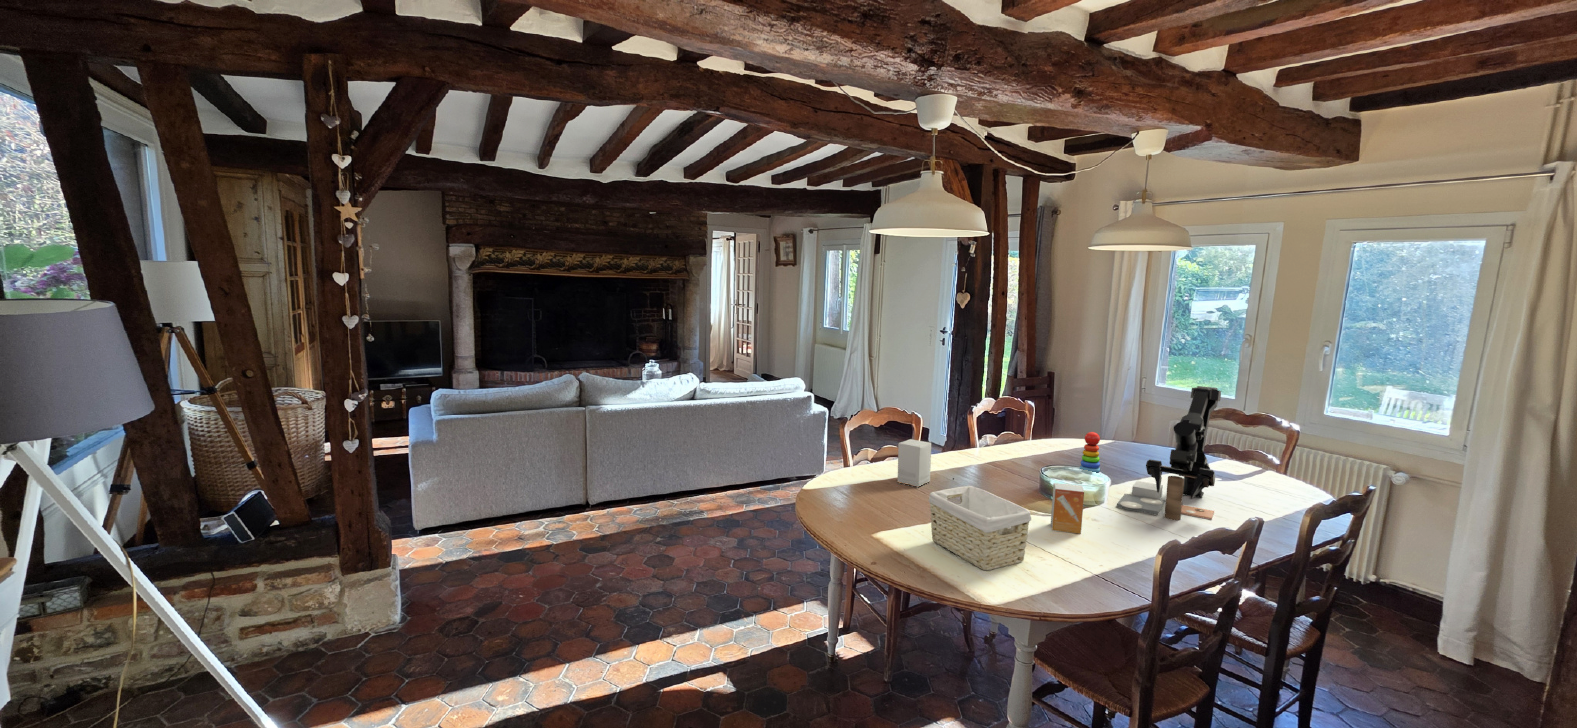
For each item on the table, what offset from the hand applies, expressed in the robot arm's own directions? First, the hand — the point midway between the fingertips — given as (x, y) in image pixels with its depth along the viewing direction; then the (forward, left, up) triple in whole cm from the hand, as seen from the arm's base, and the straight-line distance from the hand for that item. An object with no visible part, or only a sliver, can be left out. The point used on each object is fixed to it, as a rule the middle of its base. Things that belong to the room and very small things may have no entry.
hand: (1174, 494), depth 208 cm
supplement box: (+19, -80, -8) cm, 82 cm away
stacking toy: (-23, -30, -8) cm, 39 cm away
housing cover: (-18, -10, -8) cm, 22 cm away
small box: (+31, -24, -8) cm, 40 cm away
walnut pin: (0, 0, -8) cm, 8 cm away
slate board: (-6, -10, -8) cm, 14 cm away
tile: (-10, +5, -8) cm, 14 cm away
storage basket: (+64, -39, -8) cm, 75 cm away
